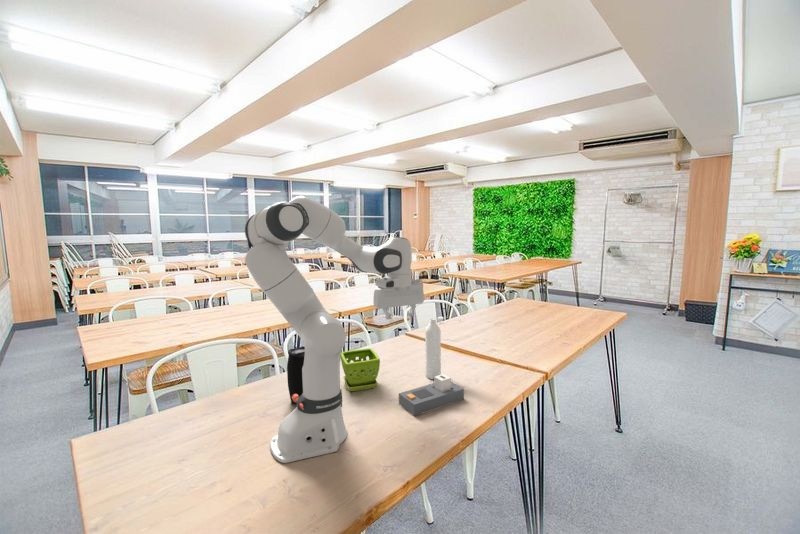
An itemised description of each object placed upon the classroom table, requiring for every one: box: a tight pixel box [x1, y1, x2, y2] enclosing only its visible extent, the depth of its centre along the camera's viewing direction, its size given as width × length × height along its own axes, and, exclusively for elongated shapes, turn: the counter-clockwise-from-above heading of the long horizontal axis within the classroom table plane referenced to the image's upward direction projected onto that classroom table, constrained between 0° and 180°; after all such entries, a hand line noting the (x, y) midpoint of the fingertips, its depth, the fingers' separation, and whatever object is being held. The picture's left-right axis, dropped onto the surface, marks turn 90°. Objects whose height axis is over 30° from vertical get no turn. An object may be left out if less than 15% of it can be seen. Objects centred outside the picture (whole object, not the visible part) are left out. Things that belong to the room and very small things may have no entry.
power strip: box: [398, 381, 465, 417], centre depth 132 cm, size 22×10×5 cm, turn 121°
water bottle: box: [424, 316, 445, 380], centre depth 154 cm, size 9×6×25 cm
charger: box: [433, 373, 452, 393], centre depth 134 cm, size 4×4×7 cm
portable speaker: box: [286, 345, 305, 406], centre depth 133 cm, size 9×9×20 cm
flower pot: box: [340, 347, 381, 392], centre depth 146 cm, size 14×14×13 cm
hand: (399, 317), depth 135 cm, fingers open, 8 cm apart
